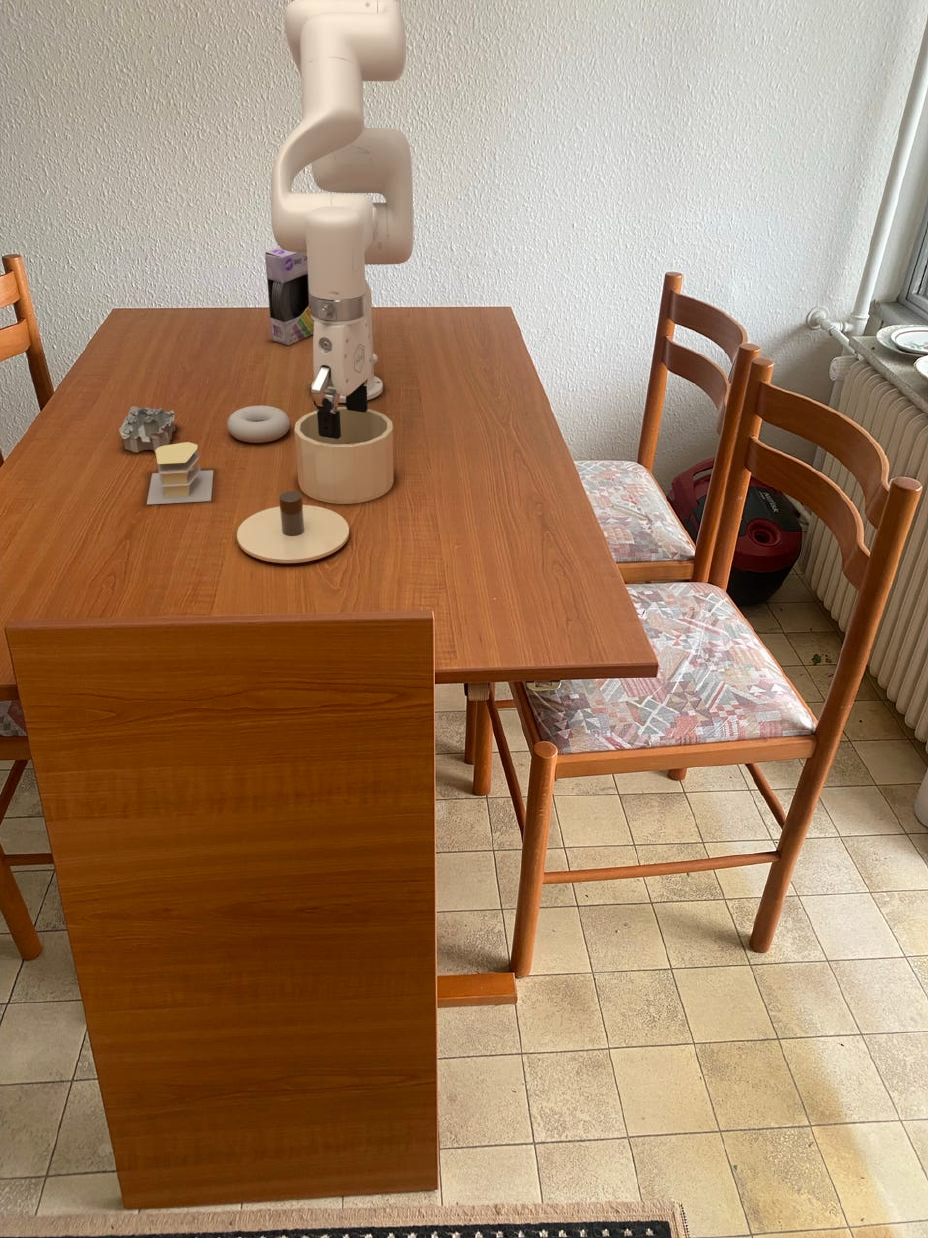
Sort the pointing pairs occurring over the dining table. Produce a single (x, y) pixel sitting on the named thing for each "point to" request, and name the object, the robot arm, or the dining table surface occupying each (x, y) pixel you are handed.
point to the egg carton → (147, 429)
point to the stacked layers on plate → (179, 476)
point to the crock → (345, 457)
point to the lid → (292, 532)
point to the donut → (258, 424)
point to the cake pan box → (288, 295)
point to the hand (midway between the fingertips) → (343, 423)
